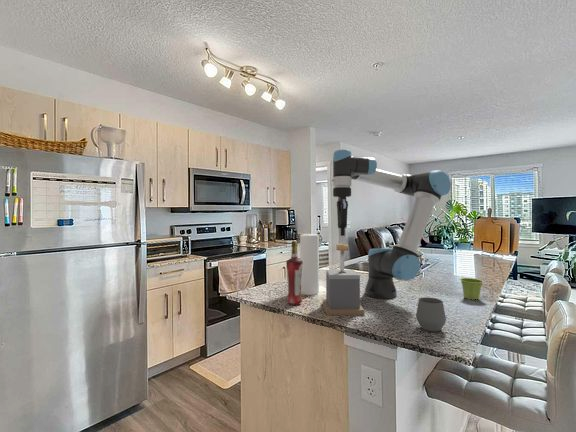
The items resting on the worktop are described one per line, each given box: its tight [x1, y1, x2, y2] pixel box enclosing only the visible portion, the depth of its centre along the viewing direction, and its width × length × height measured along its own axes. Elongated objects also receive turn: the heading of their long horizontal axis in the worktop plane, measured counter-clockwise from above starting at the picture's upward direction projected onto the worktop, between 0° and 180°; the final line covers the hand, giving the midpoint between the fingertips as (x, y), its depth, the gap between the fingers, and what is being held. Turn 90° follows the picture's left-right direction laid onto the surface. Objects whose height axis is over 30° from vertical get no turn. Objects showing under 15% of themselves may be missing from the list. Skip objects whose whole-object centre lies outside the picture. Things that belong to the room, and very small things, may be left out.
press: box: [322, 269, 365, 316], centre depth 128 cm, size 15×15×16 cm
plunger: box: [335, 244, 349, 273], centre depth 128 cm, size 9×9×16 cm
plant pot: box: [459, 277, 484, 301], centre depth 144 cm, size 9×9×9 cm
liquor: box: [286, 240, 303, 306], centre depth 136 cm, size 7×7×28 cm
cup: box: [415, 296, 447, 333], centre depth 106 cm, size 10×9×10 cm
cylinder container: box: [299, 233, 320, 296], centre depth 155 cm, size 9×9×30 cm
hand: (342, 243), depth 128 cm, fingers closed
